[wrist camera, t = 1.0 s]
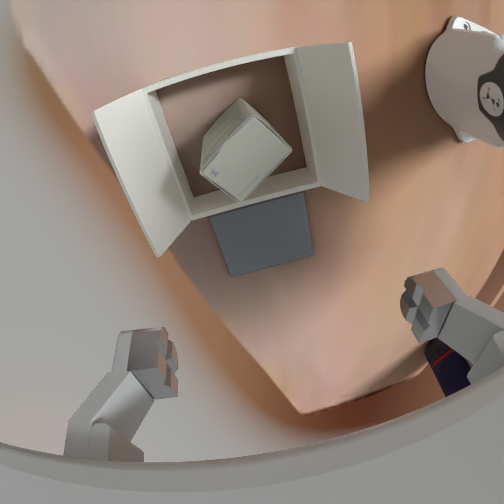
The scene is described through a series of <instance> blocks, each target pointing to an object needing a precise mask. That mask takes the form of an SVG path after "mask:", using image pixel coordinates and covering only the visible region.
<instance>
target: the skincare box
mask: <svg viewBox="0 0 504 504" xmlns="http://www.w3.org/2000/svg"><path fill="white" fill-rule="evenodd" d="M291 152H292V148H291V147H290V146H289V145H288V144H287V143H286V141H285V140H284V139H283V138H282V137H281V136H280V135H279V134H278V132H277V131H276V130H275V129H274V128H273V127H272V126H271V125H270V123H269V122H268V121H267V120H266V119H265V118H264V117H263V116H262V115H260V114H259V113H258V112H257V111H256V110H255V109H254V108H253V107H252V106H250V105H249V104H248V103H247V102H246V101H244V100H243V99H242V98H238V99H237V100H236V101H235V102H234V103H233V104H232V105H231V106H230V107H229V108H228V109H227V110H226V111H225V112H224V113H223V114H222V115H221V116H220V118H219V119H218V120H217V121H216V122H215V123H214V124H213V125H212V126H211V128H210V129H209V130H208V131H207V132H206V133H205V135H204V136H203V143H202V153H201V162H200V172H199V174H201V175H202V176H204V177H205V178H206V179H207V180H209V181H210V182H211V183H212V184H214V185H215V186H216V187H218V188H219V189H221V190H222V191H223V192H224V193H226V194H227V195H229V196H230V197H232V198H233V199H234V200H236V201H237V202H239V203H242V202H243V201H244V200H245V199H246V198H247V197H248V196H249V195H250V194H251V193H252V192H253V191H254V190H255V189H256V188H257V187H258V186H259V185H260V184H261V183H262V182H263V181H264V180H265V179H266V178H267V177H268V176H269V175H270V174H271V173H272V172H273V171H274V170H275V169H276V168H277V167H278V166H279V165H280V163H281V162H282V161H283V160H284V159H285V158H286V157H287V156H288V155H289V154H290V153H291Z"/></svg>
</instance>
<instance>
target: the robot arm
mask: <svg viewBox="0 0 504 504" xmlns="http://www.w3.org/2000/svg"><path fill="white" fill-rule="evenodd" d="M425 78H426V87H427V91H428V95H429V98H430V101H431V103H432V105H433V107H434V109H435V110H436V112H437V113H438V115H439V116H440V117H441V118H442V119H443V120H444V121H445V122H447V123H448V124H449V125H451V126H452V127H453V129H454V131H455V133H456V135H457V137H458V138H459V140H460V141H463V142H465V143H468V142H471V141H473V140H475V139H477V140H479V141H481V142H484V143H486V144H488V145H490V146H492V147H495V148H497V149H501V147H504V35H502V34H498V33H497V34H496V33H494V32H492V31H490V30H488V29H486V28H484V27H481V26H479V25H477V24H475V23H473V22H471V21H468V20H466V19H464V18H461V17H458V16H452V17H451V18H450V20H449V23H448V25H447V28H446V30H445V32H444V33H443V34H442V35H440V36H439V37H438V38H437V39H436V40H435V42H434V43H433V45H432V46H431V48H430V51H429V53H428V57H427V61H426V69H425ZM404 287H405V288H406V290H405V292H404V293H403V294H402V295H401V300H400V307H401V312H402V314H403V316H404V318H405V320H406V321H408V322H410V323H412V327H411V330H412V332H413V334H414V335H415V337H416V339H417V341H418V342H419V343H422V342H425V341H428V340H431V339H434V338H437V337H438V339H440V340H441V341H443V342H444V343H445V344H447V345H448V346H449V347H451V348H452V349H454V350H455V351H456V352H458V353H459V354H460V355H462V356H463V357H464V358H466V359H467V360H469V361H470V362H471V363H473V364H474V366H473V367H472V368H471V370H470V371H469V373H468V375H467V378H468V380H469V382H470V383H471V385H469V386H468V387H466V388H464V389H462V390H460V391H458V392H456V393H454V394H452V395H450V396H447V397H445V398H443V399H441V400H439V401H437V402H435V403H432V404H430V405H428V406H426V407H423V408H421V409H419V410H416V411H414V412H411V413H409V414H406V415H404V416H401V417H398V418H396V419H393V420H390V421H388V422H385V423H382V424H379V425H376V426H373V427H370V428H367V429H364V430H361V431H358V432H354V433H351V434H348V435H345V436H341V437H337V438H334V439H329V440H326V441H322V442H318V443H314V444H309V445H305V446H301V447H296V448H291V449H286V450H281V451H275V452H270V453H263V454H257V455H251V456H243V457H235V458H227V459H216V460H204V461H188V462H144V452H143V451H142V450H141V449H139V448H138V447H137V446H135V445H134V444H132V443H131V440H132V438H133V436H134V435H135V433H136V431H137V430H138V428H139V426H140V424H141V423H142V421H143V419H144V417H145V416H146V414H147V412H148V411H149V409H150V407H151V406H152V404H153V402H154V400H153V399H162V398H172V397H178V379H177V378H176V376H175V374H174V373H175V372H176V371H177V369H178V358H177V352H176V349H175V346H174V344H173V342H171V341H170V340H168V333H167V331H166V329H165V328H164V327H158V328H149V329H139V330H131V331H122V332H120V334H119V335H118V340H117V345H116V350H115V356H114V361H113V366H112V372H111V373H107V374H106V376H105V377H104V378H103V379H102V380H101V382H100V383H99V384H98V385H97V386H96V388H95V389H94V390H93V391H92V393H91V394H90V395H89V396H88V397H87V399H86V400H85V401H84V402H83V404H82V405H81V406H80V407H79V408H78V410H77V411H76V412H75V413H74V415H73V416H72V417H71V418H70V420H69V421H68V427H67V434H66V440H65V448H64V455H63V456H62V455H56V454H50V453H44V452H39V451H34V450H29V449H25V448H20V447H16V446H12V445H8V444H4V443H1V442H0V504H504V313H503V312H500V311H499V310H497V309H495V308H493V307H491V306H489V305H487V304H485V303H483V302H481V301H479V300H477V299H475V298H473V297H471V296H469V297H467V296H466V294H465V293H464V292H463V291H462V289H461V288H460V287H459V285H458V284H457V283H456V282H455V280H454V279H453V278H452V277H451V276H450V274H449V273H448V272H447V271H446V270H445V269H444V268H439V269H435V270H432V271H428V272H424V273H421V274H417V275H414V276H410V277H408V278H407V279H406V280H405V284H404Z"/></svg>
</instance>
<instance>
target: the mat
mask: <svg viewBox="0 0 504 504" xmlns="http://www.w3.org/2000/svg"><path fill="white" fill-rule="evenodd" d="M209 219H210V222H211V224H212V227H213V230H214V232H215V235H216V238H217V240H218V243H219V246H220V248H221V251H222V254H223V256H224V259H225V262H226V264H227V267H228V270H229V272H230V275H231V277H233V276H237V275H241V274H245V273H249V272H252V271H256V270H260V269H264V268H267V267H271V266H275V265H279V264H282V263H286V262H290V261H294V260H297V259H301V258H305V257H308V256H312V255H314V254H313V247H312V240H311V233H310V227H309V221H308V215H307V209H306V203H305V197H304V192H303V191H300V192H296V193H292V194H288V195H284V196H280V197H276V198H272V199H269V200H265V201H261V202H257V203H254V204H250V205H246V206H243V207H239V208H235V209H232V210H228V211H224V212H221V213H217V214H214V215H210V216H209Z"/></svg>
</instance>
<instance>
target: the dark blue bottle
mask: <svg viewBox="0 0 504 504" xmlns="http://www.w3.org/2000/svg"><path fill="white" fill-rule="evenodd" d="M425 356H426V358H427V360H428V362H429V364H430V366H431V368H432V369H433V372H434V374H435V376H436V378H437V380H438V382H439V384H440V386H441V388H442V390H443V392H444V394H445V397H447V396H450V395H452V394H454V393H456V392H458V391H460V390H462V389H464V388H466V387H468V386H469V385H471V383H470V382H469V380H468V378H467V375H468V373H469V371H470V370H471V368H472V367H473V366H474V364H473V363H471V362H470V361H469V360H467V359H466V358H464V357H463V356H462V355H460V354H459V353H458V352H456V351H455V350H454V349H452V348H451V347H449V346H448V345H447V344H445V343H444V342H443V341H441V340H440V339H438V337H437V338H434V339H432V342H431V343H430V344H429V346H428V347H427V349H426V352H425Z"/></svg>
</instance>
